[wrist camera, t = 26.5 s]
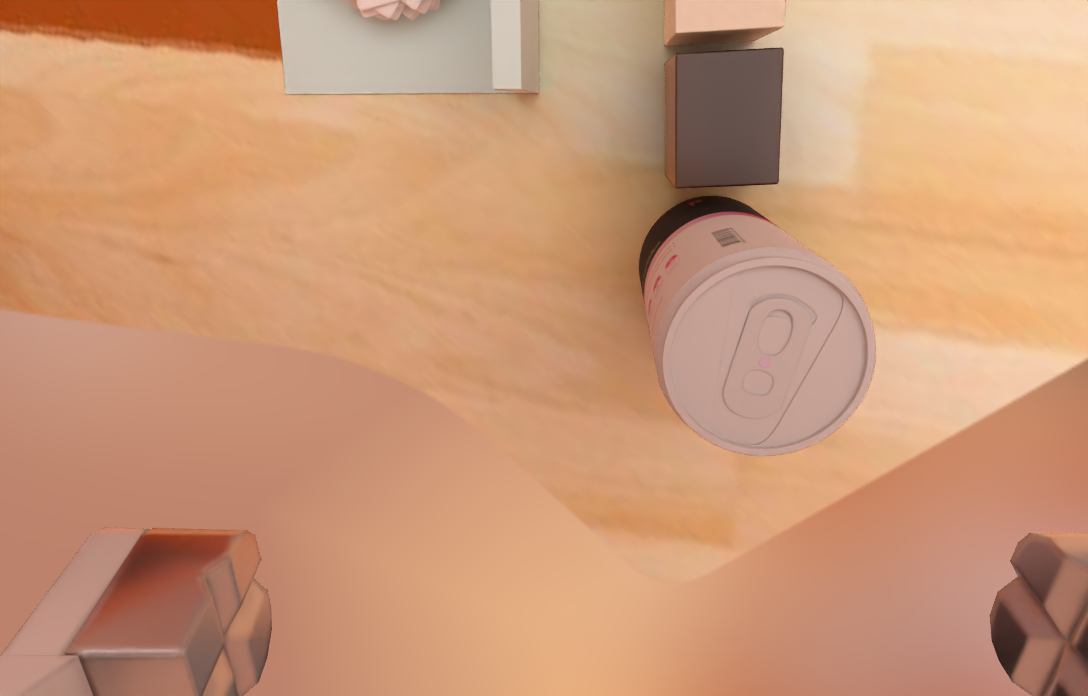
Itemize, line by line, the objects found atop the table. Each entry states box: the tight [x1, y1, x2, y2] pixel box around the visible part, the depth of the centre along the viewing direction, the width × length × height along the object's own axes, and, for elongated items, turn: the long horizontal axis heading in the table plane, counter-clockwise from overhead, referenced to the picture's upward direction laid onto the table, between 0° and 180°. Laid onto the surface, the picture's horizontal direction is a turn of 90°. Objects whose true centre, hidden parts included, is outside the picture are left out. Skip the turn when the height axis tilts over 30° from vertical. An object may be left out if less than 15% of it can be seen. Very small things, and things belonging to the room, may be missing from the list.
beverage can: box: [639, 196, 876, 456], centre depth 30 cm, size 7×7×15 cm
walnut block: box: [665, 48, 784, 188], centre depth 32 cm, size 4×5×6 cm
